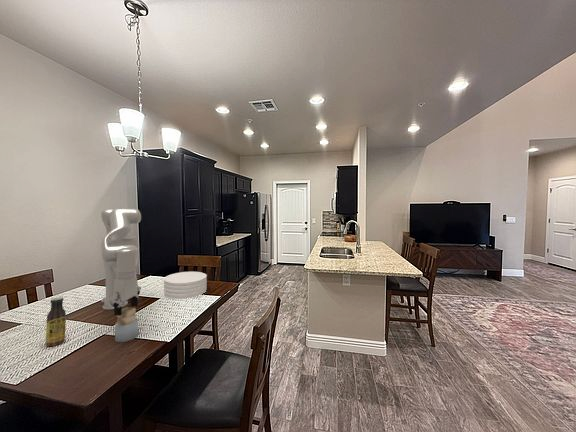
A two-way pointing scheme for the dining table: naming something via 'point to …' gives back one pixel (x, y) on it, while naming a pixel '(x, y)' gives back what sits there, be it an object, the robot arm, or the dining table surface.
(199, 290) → the plate stack
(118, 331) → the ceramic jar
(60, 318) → the sauce bottle
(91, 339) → the dining table surface
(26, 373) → the dining table surface
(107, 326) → the dining table surface
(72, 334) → the dining table surface
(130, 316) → the maple block
